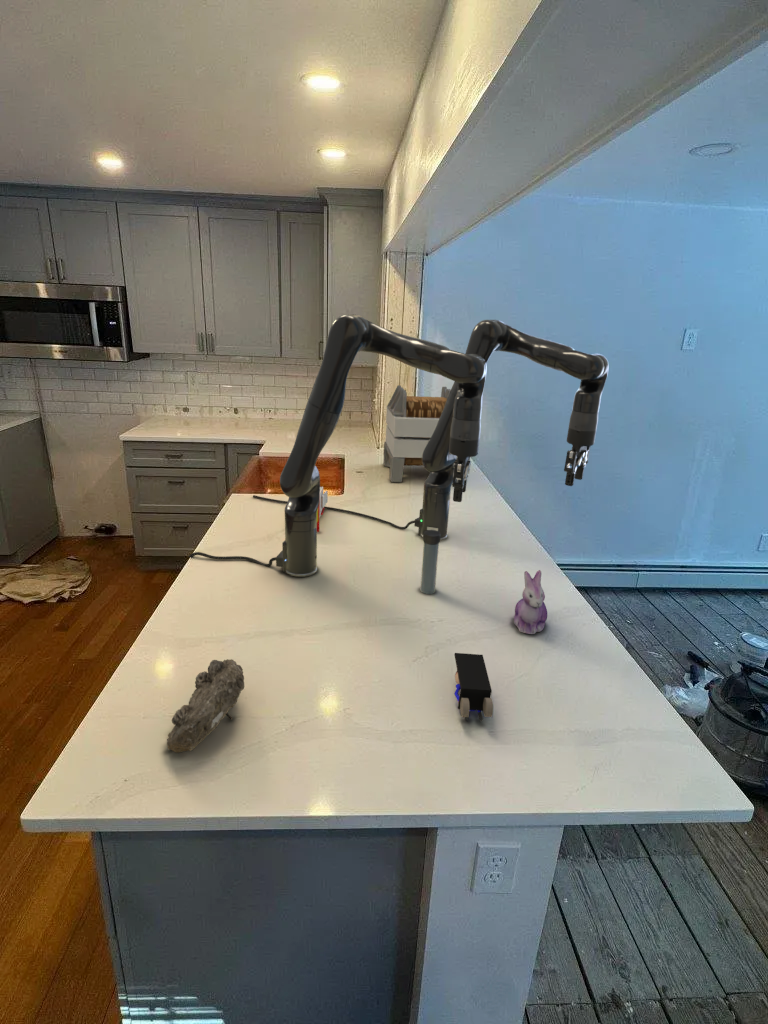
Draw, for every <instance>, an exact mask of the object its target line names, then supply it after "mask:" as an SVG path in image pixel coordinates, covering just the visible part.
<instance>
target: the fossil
mask: <svg viewBox="0 0 768 1024" xmlns="http://www.w3.org/2000/svg"><path fill="white" fill-rule="evenodd" d="M243 670H244V669H243V667H242V665H240V664H237V662H236V661H235V660H234V659H232V658H231V659H227V658H226V659H224V660H223V661H222V660H217V659H212V660H211V661H210V663H209V665H208V666H207V671H201V672H199V673H198V674H197V675H196V676H195V680H194V684H195V685H194V687H195V689H194V690H193V693H192V694H191V697H190V698H189V700H188V704H184V705H182V706H181V707H180V709H177V710H176V711H175V713H174V715H173V716H172V718H171V723H172V724H173V727H172V730H171V731H170V732H168V734H167V738H166V741H167V742H166V745H167V749H168V750H169V751H173V752H174V753H176V754H178V753H182V752H188V751H189V752H192V751H193V750H195V748H196V747H197V746H199V744H200V743H201V742H203V741H204V740H205V739H206V738H207V737H208V736H209V735H210V734H211V733H212V732H214V730H215V729H217V727H218V726H219V724H220V722H221V721H222V720H223V719H224V718H225V716H226V717H227V719H229V720H233V717H232V715H230V714H229V710H230V709H231V708H234V706H235V704H236V703H237V702H238V699H239V697H240V695H241V693H242V691H243V690H245V689H244V688H245V675H244V671H243Z"/></svg>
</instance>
